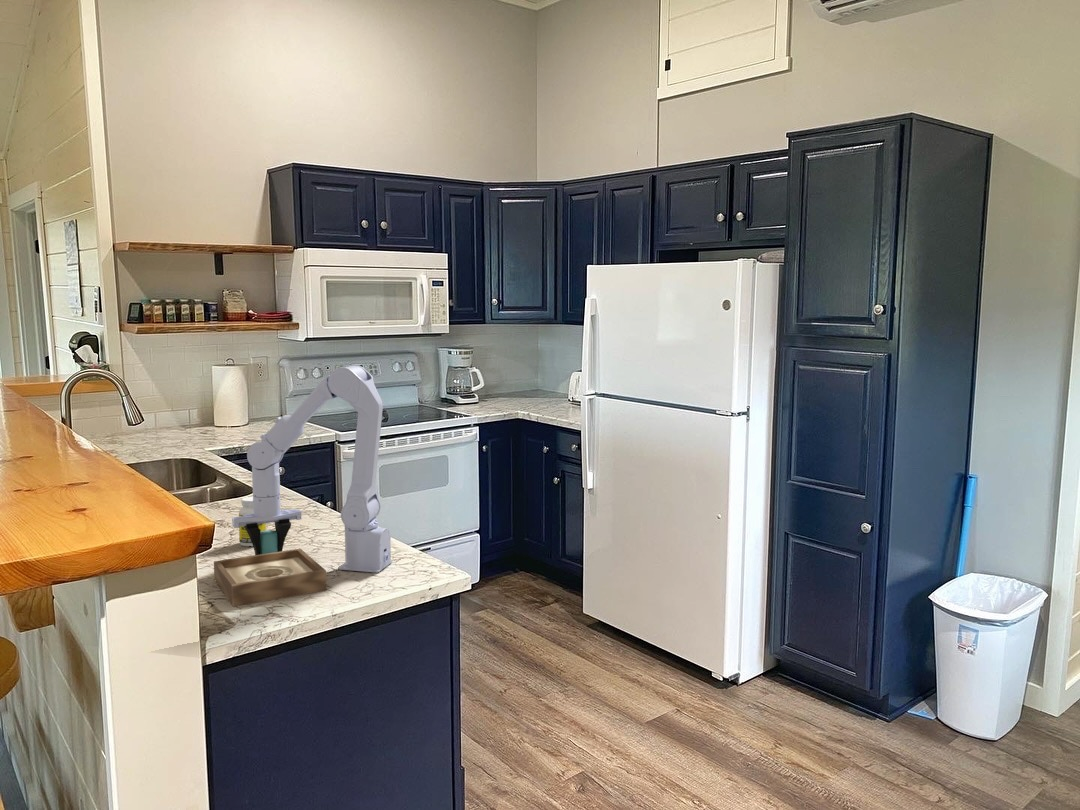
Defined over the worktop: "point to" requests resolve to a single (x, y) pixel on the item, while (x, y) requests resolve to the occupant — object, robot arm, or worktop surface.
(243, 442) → the worktop surface
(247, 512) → the pill bottle
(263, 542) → the peg
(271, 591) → the walnut box
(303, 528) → the worktop surface
